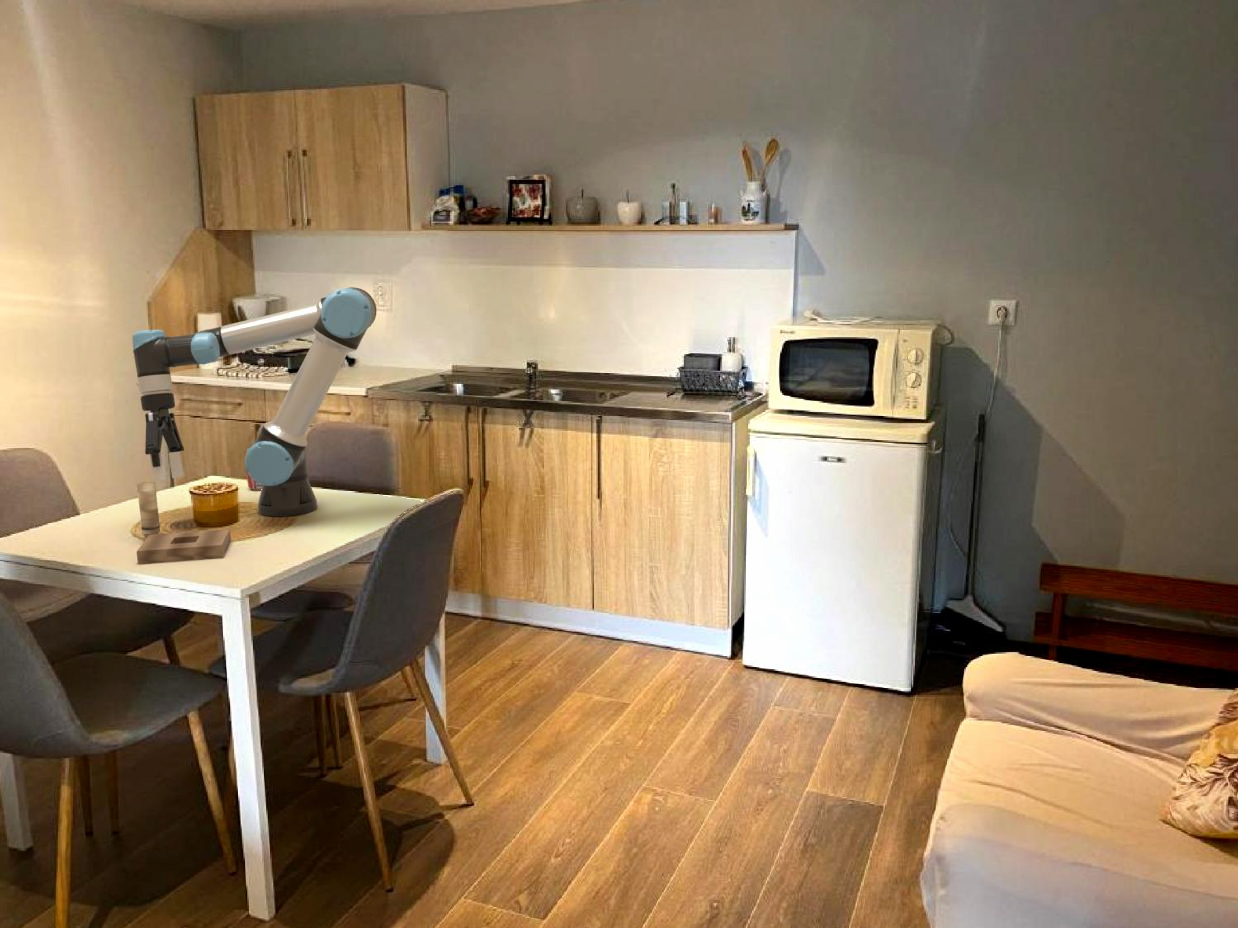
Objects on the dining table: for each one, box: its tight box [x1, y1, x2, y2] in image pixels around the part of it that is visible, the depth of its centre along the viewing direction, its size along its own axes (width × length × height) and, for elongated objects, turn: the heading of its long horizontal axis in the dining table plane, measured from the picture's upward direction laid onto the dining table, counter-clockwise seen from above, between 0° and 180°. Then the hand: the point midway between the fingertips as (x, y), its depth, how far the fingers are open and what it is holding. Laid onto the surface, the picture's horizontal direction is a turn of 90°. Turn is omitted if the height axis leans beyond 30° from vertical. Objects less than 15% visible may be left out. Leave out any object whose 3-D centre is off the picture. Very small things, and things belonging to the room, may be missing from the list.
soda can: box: [244, 448, 263, 491], centre depth 304 cm, size 7×7×12 cm
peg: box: [136, 481, 161, 541], centre depth 250 cm, size 4×4×14 cm
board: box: [136, 529, 232, 565], centre depth 240 cm, size 18×14×3 cm
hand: (169, 479), depth 256 cm, fingers open, 13 cm apart
